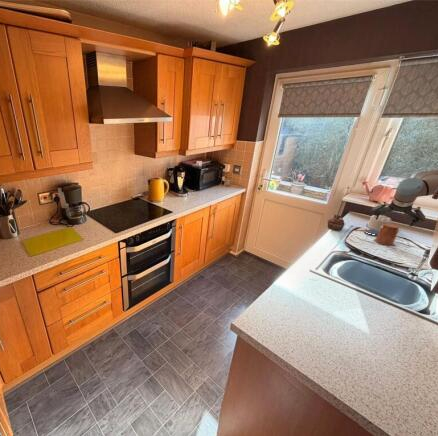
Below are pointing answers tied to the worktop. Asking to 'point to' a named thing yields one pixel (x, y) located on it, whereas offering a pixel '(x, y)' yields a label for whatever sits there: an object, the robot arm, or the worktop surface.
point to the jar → (387, 234)
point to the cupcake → (336, 223)
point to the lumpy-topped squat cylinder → (378, 222)
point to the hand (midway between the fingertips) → (393, 220)
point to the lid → (371, 232)
